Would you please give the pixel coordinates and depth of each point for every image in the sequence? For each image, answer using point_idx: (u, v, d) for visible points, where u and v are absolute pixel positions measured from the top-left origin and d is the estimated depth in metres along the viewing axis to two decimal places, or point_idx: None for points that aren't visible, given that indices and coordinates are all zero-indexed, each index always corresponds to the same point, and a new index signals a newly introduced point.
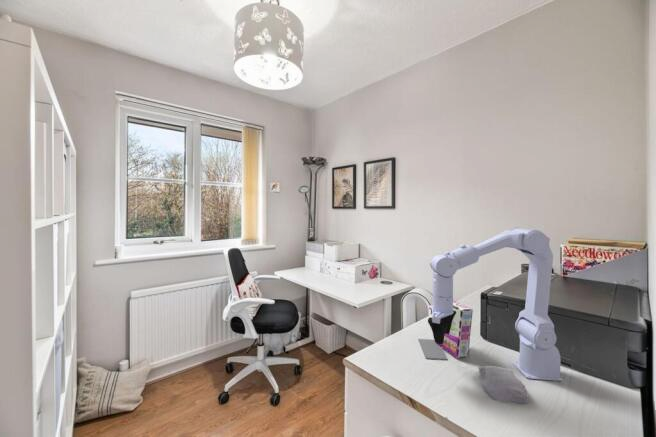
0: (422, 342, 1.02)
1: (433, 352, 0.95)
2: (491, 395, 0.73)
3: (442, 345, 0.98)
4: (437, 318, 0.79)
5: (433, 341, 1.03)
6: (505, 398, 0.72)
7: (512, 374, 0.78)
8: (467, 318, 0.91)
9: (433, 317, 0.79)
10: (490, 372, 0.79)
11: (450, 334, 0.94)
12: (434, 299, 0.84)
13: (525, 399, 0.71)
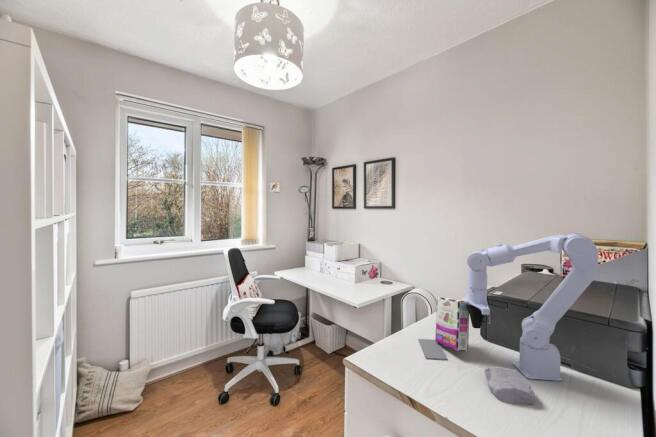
0: (422, 342, 1.02)
1: (433, 352, 0.95)
2: (497, 396, 0.72)
3: (442, 342, 0.98)
4: (488, 310, 0.85)
5: (433, 341, 1.03)
6: (512, 399, 0.71)
7: (518, 375, 0.78)
8: (464, 310, 0.94)
9: (484, 310, 0.85)
10: (496, 373, 0.79)
11: (449, 328, 0.96)
12: (473, 293, 0.90)
13: (532, 400, 0.70)
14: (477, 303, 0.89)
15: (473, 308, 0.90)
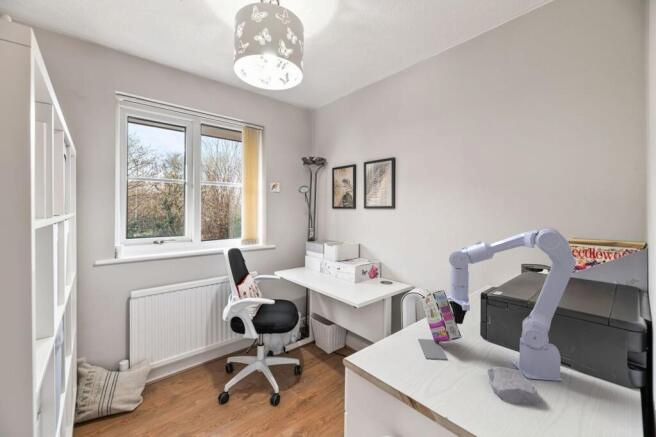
0: (422, 342, 1.02)
1: (433, 352, 0.95)
2: (501, 396, 0.72)
3: (438, 339, 0.99)
4: (468, 306, 0.88)
5: (433, 341, 1.03)
6: (515, 399, 0.71)
7: (521, 375, 0.78)
8: (442, 299, 0.98)
9: (464, 305, 0.89)
10: (499, 373, 0.79)
11: (437, 322, 0.98)
12: (455, 289, 0.94)
13: (536, 400, 0.70)
14: (459, 299, 0.93)
15: (455, 304, 0.94)
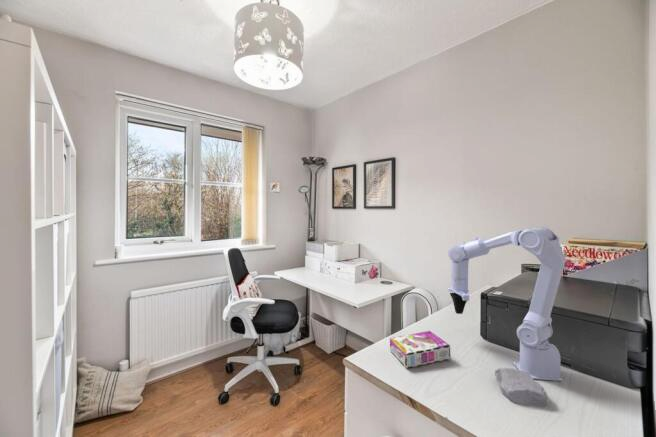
0: None
1: None
2: (510, 398, 0.72)
3: None
4: (467, 296, 0.96)
5: None
6: (525, 401, 0.71)
7: (529, 376, 0.78)
8: (414, 358, 0.87)
9: (464, 296, 0.96)
10: (506, 374, 0.78)
11: None
12: (456, 282, 1.01)
13: (545, 401, 0.70)
14: (459, 291, 1.00)
15: (456, 295, 1.02)
